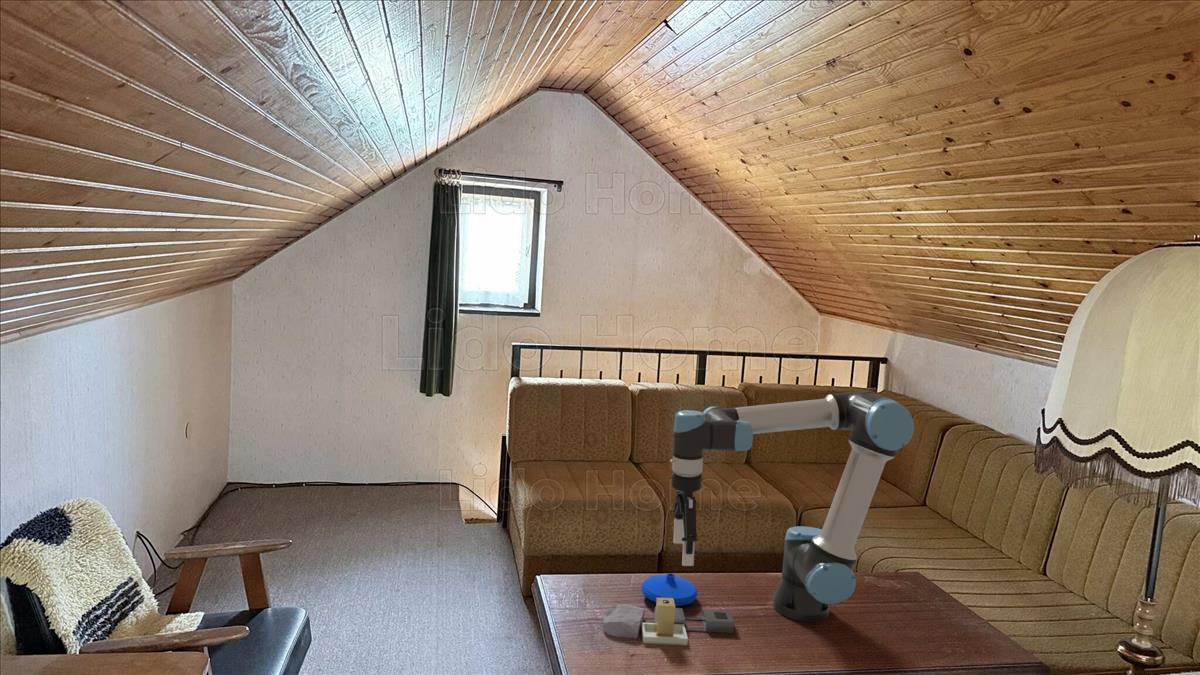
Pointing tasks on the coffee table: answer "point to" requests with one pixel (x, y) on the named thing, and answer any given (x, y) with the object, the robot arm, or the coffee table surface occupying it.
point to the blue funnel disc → (669, 589)
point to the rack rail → (708, 620)
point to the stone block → (623, 621)
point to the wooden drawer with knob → (664, 617)
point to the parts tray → (677, 638)
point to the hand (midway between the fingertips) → (683, 553)
